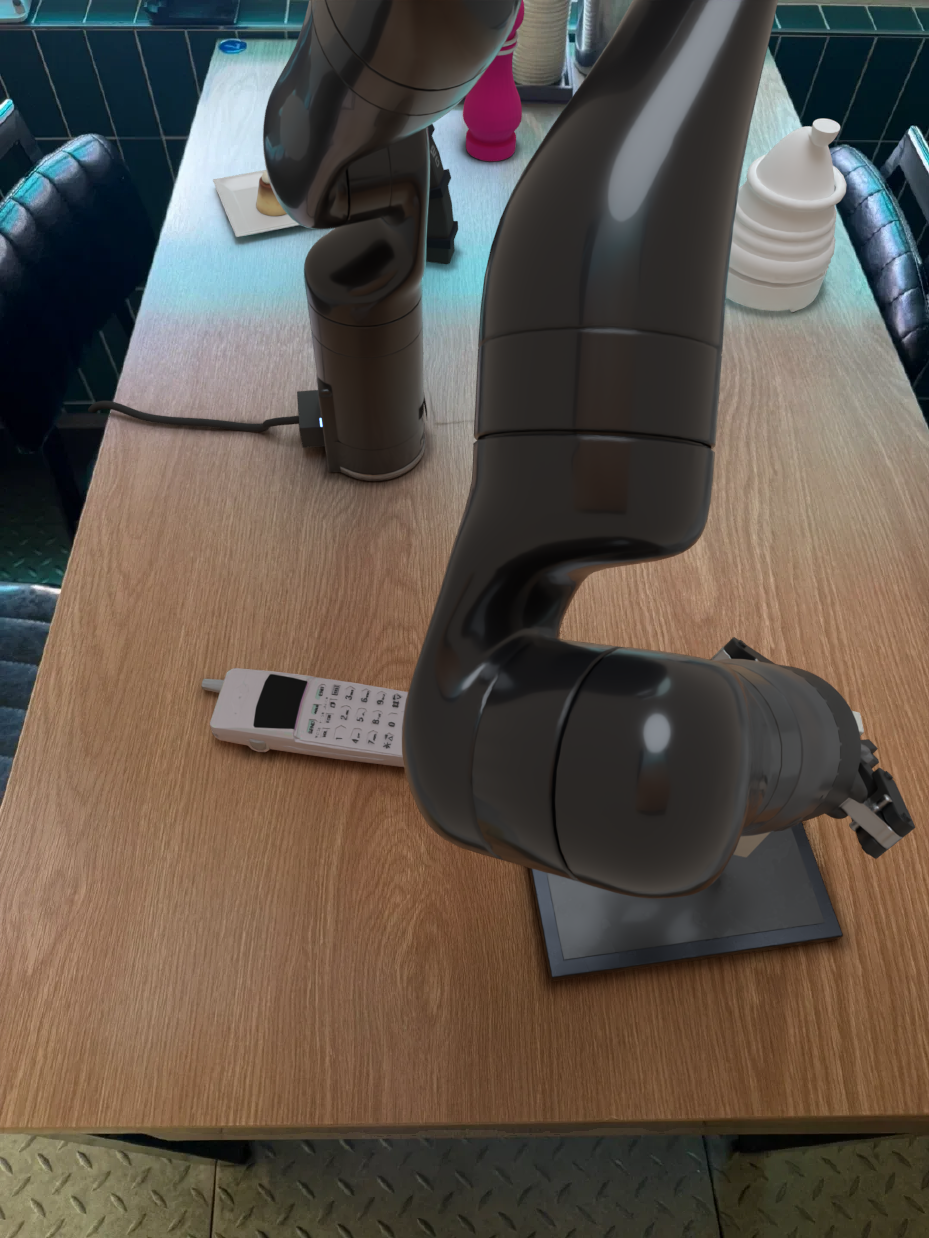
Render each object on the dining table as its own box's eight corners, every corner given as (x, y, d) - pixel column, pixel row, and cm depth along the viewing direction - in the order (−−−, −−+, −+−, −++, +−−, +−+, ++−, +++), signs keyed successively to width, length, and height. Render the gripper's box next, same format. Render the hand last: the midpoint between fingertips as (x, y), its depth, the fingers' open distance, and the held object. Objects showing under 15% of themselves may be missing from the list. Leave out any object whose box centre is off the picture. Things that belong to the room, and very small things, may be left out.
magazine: (477, 261, 103) (417, 130, 92) (374, 288, 109) (307, 167, 98) (484, 241, 105) (427, 110, 95) (383, 268, 111) (318, 148, 101)
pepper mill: (454, 137, 120) (458, -42, 104) (508, 130, 122) (520, -49, 105) (471, 168, 116) (478, -14, 100) (527, 159, 118) (542, -21, 101)
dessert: (311, 170, 115) (307, 131, 111) (340, 225, 109) (337, 186, 105) (214, 188, 112) (206, 149, 108) (238, 245, 106) (230, 206, 102)
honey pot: (842, 299, 104) (911, 138, 89) (741, 325, 101) (795, 162, 86) (779, 233, 110) (833, 73, 96) (682, 255, 107) (722, 93, 93)
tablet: (550, 981, 62) (551, 977, 61) (513, 786, 70) (514, 780, 69) (838, 940, 64) (844, 935, 63) (772, 754, 72) (776, 748, 71)
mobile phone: (523, 754, 65) (168, 704, 66) (516, 791, 70) (185, 744, 71) (531, 680, 68) (194, 634, 70) (524, 720, 73) (209, 676, 74)
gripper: (937, 815, 38) (988, 789, 52) (706, 578, 44) (809, 613, 58) (797, 927, 40) (883, 873, 54) (599, 688, 46) (722, 696, 61)
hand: (844, 739), depth 56 cm, fingers closed
